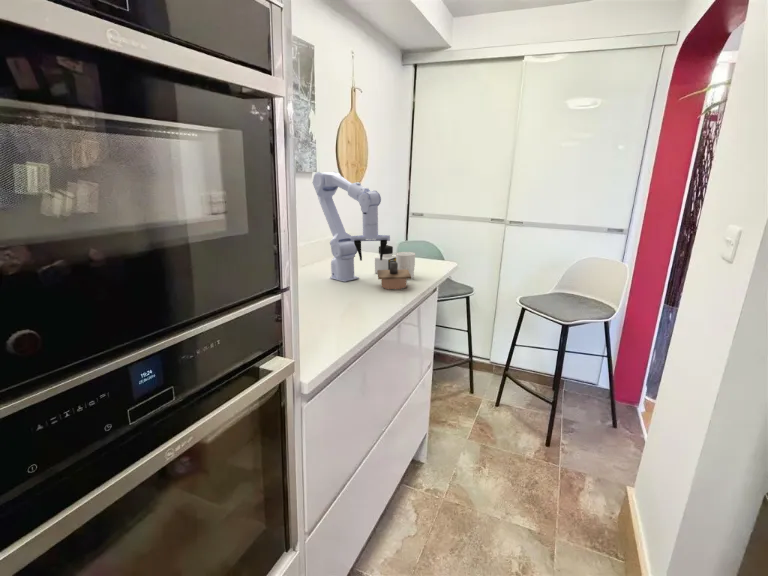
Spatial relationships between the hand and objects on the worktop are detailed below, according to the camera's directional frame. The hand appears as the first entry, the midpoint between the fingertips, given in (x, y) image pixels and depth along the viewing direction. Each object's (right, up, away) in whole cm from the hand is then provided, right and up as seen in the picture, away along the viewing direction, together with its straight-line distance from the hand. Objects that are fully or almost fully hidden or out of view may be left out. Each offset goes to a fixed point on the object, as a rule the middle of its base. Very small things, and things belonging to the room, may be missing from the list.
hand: (371, 259), depth 163 cm
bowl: (+9, -10, 0) cm, 13 cm away
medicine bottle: (+6, -4, +23) cm, 24 cm away
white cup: (+14, -7, +14) cm, 21 cm away
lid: (+9, -6, -1) cm, 11 cm away
